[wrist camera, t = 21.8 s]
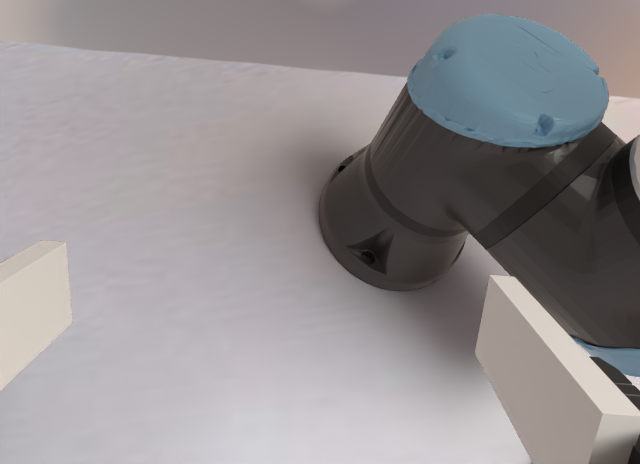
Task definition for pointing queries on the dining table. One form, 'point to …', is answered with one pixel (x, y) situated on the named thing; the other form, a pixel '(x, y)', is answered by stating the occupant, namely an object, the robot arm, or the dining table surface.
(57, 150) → the dining table surface
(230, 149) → the dining table surface
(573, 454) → the robot arm
